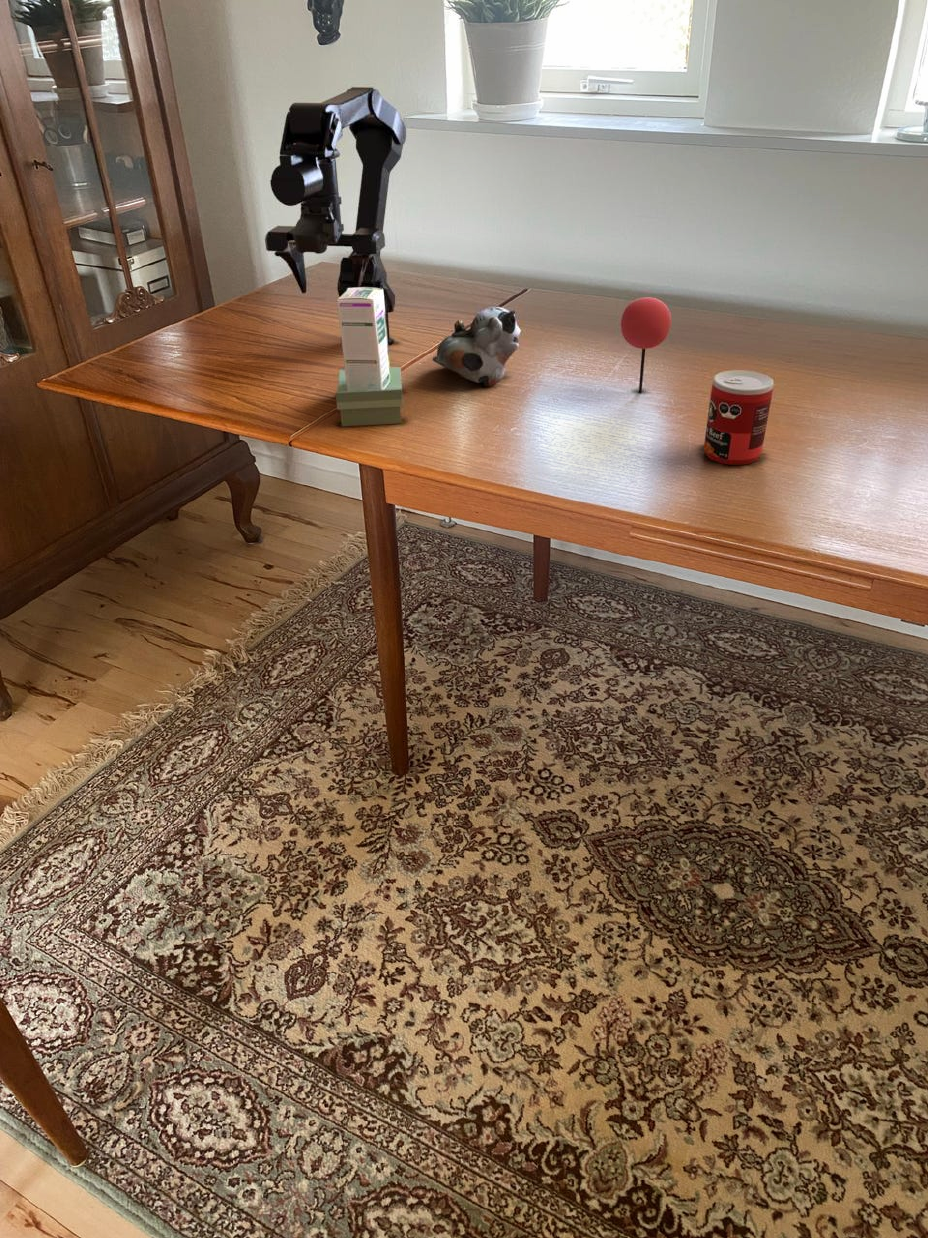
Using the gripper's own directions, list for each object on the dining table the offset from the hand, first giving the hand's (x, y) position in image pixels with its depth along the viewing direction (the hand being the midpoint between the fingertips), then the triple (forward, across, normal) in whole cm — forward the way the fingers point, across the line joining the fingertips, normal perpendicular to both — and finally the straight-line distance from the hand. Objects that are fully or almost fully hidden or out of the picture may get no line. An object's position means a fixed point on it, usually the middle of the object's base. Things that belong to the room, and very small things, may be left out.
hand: (330, 293), depth 155 cm
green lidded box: (+13, +11, -16) cm, 23 cm away
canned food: (+13, +66, -24) cm, 72 cm away
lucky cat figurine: (+13, +25, +1) cm, 28 cm away
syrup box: (+9, +11, -17) cm, 22 cm away
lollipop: (+13, +52, -3) cm, 54 cm away
